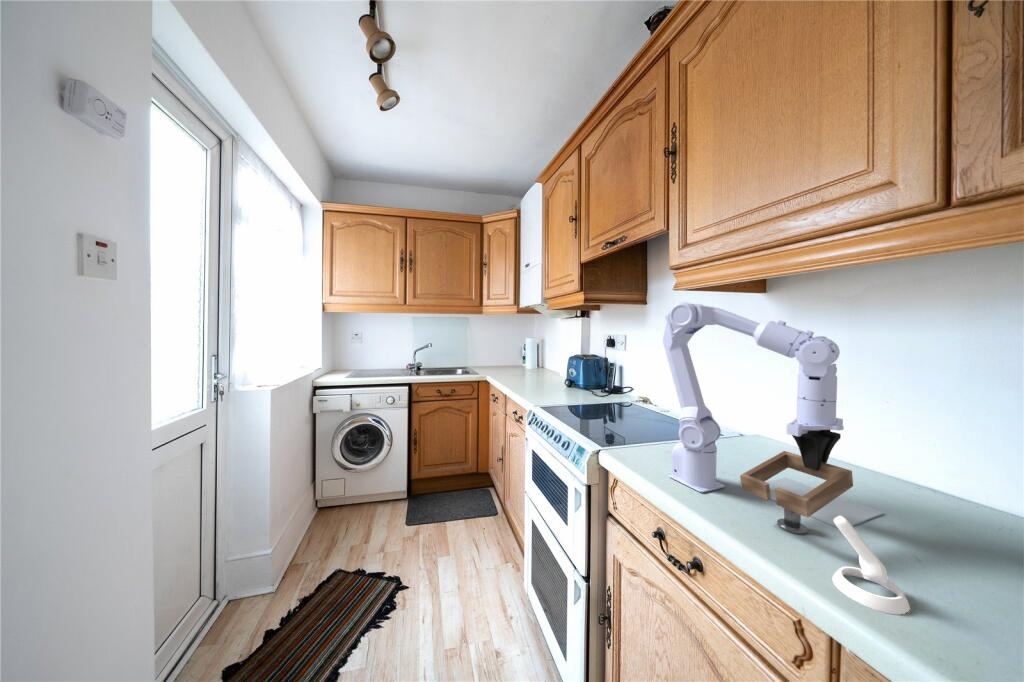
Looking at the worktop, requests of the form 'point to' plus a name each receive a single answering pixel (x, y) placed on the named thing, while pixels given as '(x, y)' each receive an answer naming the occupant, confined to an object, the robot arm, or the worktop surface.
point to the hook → (867, 576)
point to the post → (792, 523)
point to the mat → (835, 508)
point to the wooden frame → (803, 505)
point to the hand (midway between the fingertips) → (814, 468)
